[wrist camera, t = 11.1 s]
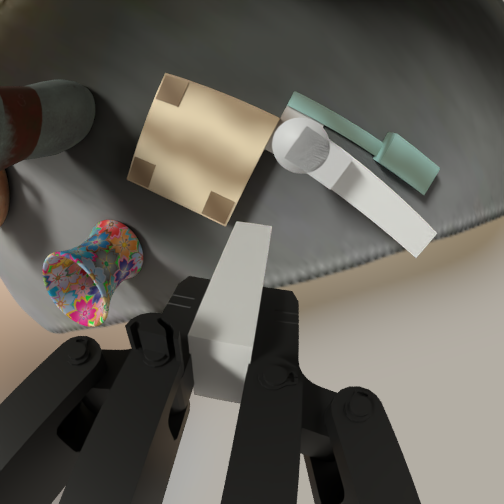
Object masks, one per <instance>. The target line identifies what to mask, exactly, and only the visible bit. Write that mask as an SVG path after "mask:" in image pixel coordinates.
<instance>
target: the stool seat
mask: <svg viewBox="0 0 504 504" xmlns="http://www.w3.org/2000/svg"><path fill="white" fill-rule="evenodd" d="M293 118H308V119H311V120H313V121H315V122H317V123H318V124H319V125H321V126H322V127H323V126H324V125H325V126H327V127H329V128H331V129H332V130H334V131H336V132H338V133H339V134H341V135H343V136H344V137H346V138H348V139H349V140H351V141H352V142H354V143H356V144H357V145H359V146H360V147H362V148H364V149H365V150H367V151H368V152H370V153H371V154H373V155H374V158H373V160H375V161H376V162H378V163H379V164H381V165H382V166H384V167H385V168H387V169H388V170H390V171H391V172H392V173H394V174H395V175H397V176H398V177H399V178H401V179H402V180H403V181H405V182H406V183H407V184H409V185H410V186H411V187H413V188H414V189H415V190H417V191H418V192H420V193H421V194H423V195H425V193H426V192H427V190H428V188H429V187H430V185H431V183H432V182H433V180H434V178H435V176H436V175H437V173H438V171H439V169H440V168H439V167H438V166H437V165H435V164H434V163H433V162H432V161H431V160H430V159H428V158H427V157H426V156H425V155H424V154H422V153H421V152H420V151H419V150H417V149H416V148H415V147H414V146H412V145H411V144H410V143H409V142H407V141H406V140H405V139H403V138H402V137H401V136H399V135H398V134H396V133H391V132H388V133H387V135H386V137H385V138H384V140H383V142H381V141H379V140H378V139H376V138H375V137H373V136H372V135H370V134H369V133H367V132H366V131H364V130H363V129H361V128H360V127H358V126H356V125H355V124H353V123H352V122H350V121H348V120H347V119H345V118H343V117H342V116H340V115H338V114H337V113H335V112H333V111H331V110H330V109H328V108H326V107H324V106H322V105H321V104H319V103H317V102H315V101H313V100H311V99H309V98H307V97H305V96H303V95H301V94H299V93H297V92H294V93H293V95H292V97H291V99H290V101H289V103H288V105H287V107H286V109H285V110H284V112H283V114H282V116H281V118H278V117H276V116H274V115H272V114H270V113H268V112H266V111H264V110H262V109H259V108H257V107H255V106H253V105H250V104H248V103H246V102H244V101H241V100H239V99H236V98H234V97H232V96H229V95H227V94H224V93H222V92H219V91H217V90H214V89H211V88H209V87H206V86H203V85H201V84H198V83H195V82H192V81H189V80H186V79H183V78H180V77H177V76H174V75H171V74H167V73H165V75H164V77H163V79H162V82H161V84H160V86H159V89H158V91H157V93H156V96H155V98H154V101H153V103H152V106H151V108H150V111H149V113H148V116H147V119H146V121H145V124H144V127H143V130H142V133H141V135H140V138H139V141H138V144H137V147H136V150H135V153H134V157H133V160H132V163H131V166H130V170H129V173H128V177H127V180H129V181H131V182H133V183H135V184H137V185H140V186H142V187H144V188H146V189H148V190H150V191H152V192H154V193H157V194H159V195H161V196H163V197H165V198H167V199H169V200H171V201H173V202H175V203H178V204H180V205H182V206H184V207H186V208H188V209H190V210H192V211H194V212H196V213H199V214H201V215H203V216H205V217H207V218H209V219H211V220H213V221H215V222H217V223H219V224H221V225H223V226H226V225H227V223H228V221H229V219H230V217H231V215H232V213H233V211H234V209H235V207H236V205H237V203H238V201H239V199H240V197H241V195H242V193H243V191H244V189H245V187H246V185H247V183H248V181H249V178H250V176H251V174H252V172H253V170H254V168H255V167H256V165H257V163H258V161H259V159H260V157H261V155H262V153H263V151H264V149H265V150H267V151H269V152H271V153H273V149H272V141H273V136H274V134H275V132H276V130H277V129H278V127H279V126H280V125H281V124H283V123H284V122H285V121H287V120H290V119H293ZM273 154H274V153H273Z"/></svg>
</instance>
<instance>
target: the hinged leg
mask: <svg viewBox="0 0 504 504" xmlns="http://www.w3.org/2000/svg"><path fill="white" fill-rule="evenodd" d="M272 149H273V153H274V156H275V158H276V159H277V161H278V162H279V164H280V165H281V166H283V167H284V168H285V169H287V170H289V171H291V172H294V173H302V174H303V173H307V174H309V175H310V176H312V177H313V178H315V179H316V180H317V181H319V182H320V183H322V184H323V185H324V186H326V187H327V188H329V189H332V190H333V191H334V192H336V193H337V194H338V195H340V196H341V197H342V198H344V199H345V200H346V201H348V202H349V203H350V204H352V205H353V206H354V207H355V208H357V209H358V210H359V211H361V212H362V213H363V214H364V215H366V216H367V217H368V218H369V219H371V220H372V221H373V222H374V223H376V224H377V225H378V226H379V227H380V228H382V229H383V230H384V231H385V232H386V233H388V234H389V235H390V236H391V237H392V238H394V239H395V240H396V241H397V242H398V243H399V244H400V245H402V246H403V247H404V248H405V249H406V250H407V251H408V252H410V253H411V254H412V255H413V256H414V257H415V258H417V256H418V255H419V254H420V253H421V252H422V251H423V250H424V248H425V247H426V246H427V245H428V244H429V242H430V241H431V240H432V239H433V238H434V236H435V235H436V234H437V233H436V232H435V231H434V230H433V229H432V228H431V226H430V225H429V224H428V223H427V222H426V221H425V220H424V219H423V218H422V217H421V216H420V215H419V214H418V213H417V212H415V211H414V210H413V209H412V208H411V207H410V206H409V205H408V204H407V203H406V202H405V201H404V200H403V199H402V198H401V197H400V196H398V195H397V194H396V193H395V192H394V191H393V190H392V189H391V188H390V187H388V186H387V185H386V184H385V183H384V182H383V181H382V180H380V179H379V178H378V177H377V176H376V175H374V174H373V173H372V172H371V171H370V170H368V169H367V168H366V167H365V166H364V165H362V164H361V163H360V162H359V161H357V160H356V159H355V158H354V157H352V156H351V155H350V154H348V153H347V152H346V151H344V150H343V149H342V148H341V147H339V146H338V145H337V144H335V143H334V142H332V141H331V140H330V139H329V137H328V135H327V133H326V131H325V130H324V129H323V127H322V126H321V125H319V124H318V123H317V122H315V121H313V120H311V119H308V118H293V119H290V120H287V121H285V122H284V123H283V124H281V125H280V126H279V127H278V129H277V130H276V132H275V134H274V136H273V141H272Z"/></svg>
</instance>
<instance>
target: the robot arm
mask: <svg viewBox="0 0 504 504" xmlns="http://www.w3.org/2000/svg"><path fill="white" fill-rule="evenodd" d="M271 230H272V226H267V225H260V224H253V223H246V222H239V221H236V224H235V226H234V228H233V230H232V233H231V235H230V237H229V239H228V242H227V244H226V246H225V248H224V251H223V253H222V255H221V258H220V260H219V262H218V265H217V267H216V269H215V272H214V274H213V276H212V279H211V280H209V279H203V278H197V277H192V276H189V277H187V278H186V279H185V280H183V281H182V282H181V283H179V284H178V286H177V288H176V290H175V291H174V293H173V296H172V297H171V298H170V300H169V303H168V304H167V306H166V308H165V309H164V311H163V313H162V314H161V313H146V314H141V315H139V316H137V317H135V318H133V319H131V320H130V321H129V322H128V323H127V324H126V325H125V327H126V330H127V334H128V337H129V341H130V344H131V347H132V349H128V350H101V348H100V345H99V344H98V343H97V342H96V341H95V340H94V339H92V338H90V337H87V336H77V337H73V338H70V339H69V340H67V341H66V342H64V343H63V344H62V345H61V346H60V347H58V348H57V349H56V350H55V351H54V352H53V353H52V354H51V355H50V356H49V357H48V358H47V359H46V360H45V361H43V363H42V364H40V365H39V366H38V367H37V368H36V369H35V370H34V371H33V372H32V373H31V374H30V375H29V376H28V377H27V378H26V379H25V380H24V381H23V382H22V383H21V384H20V385H19V386H18V387H17V388H16V389H15V390H14V391H13V392H12V393H11V394H10V395H9V396H8V397H7V398H6V399H5V400H4V401H3V402H2V403H1V404H0V504H51V503H52V502H53V500H54V499H55V498H56V497H57V496H58V494H59V493H60V492H61V491H62V489H63V488H64V487H65V486H66V487H65V489H64V492H63V494H62V497H61V500H60V502H59V504H162V502H163V498H164V495H165V491H166V488H167V485H168V481H169V478H170V474H171V471H172V468H173V464H174V461H175V457H176V454H177V450H178V447H179V444H180V440H181V437H182V434H183V431H184V427H185V424H186V421H187V417H188V414H189V411H190V402H189V399H190V395H191V392H192V389H194V394H195V395H199V396H204V397H209V398H214V399H219V400H224V401H229V402H235V403H241V404H240V409H239V414H238V420H237V425H236V430H235V435H234V440H233V446H232V451H231V456H230V461H229V466H228V471H227V475H226V480H225V485H224V490H223V495H222V500H221V504H297V492H298V480H299V464H300V453H302V454H303V455H304V459H305V463H306V468H307V472H308V476H309V481H310V485H311V489H312V494H313V498H314V502H315V504H421V503H420V500H419V497H418V494H417V491H416V488H415V486H414V483H413V480H412V477H411V474H410V472H409V469H408V467H407V464H406V461H405V459H404V456H403V453H402V451H401V448H400V446H399V443H398V441H397V438H396V436H395V433H394V431H393V429H392V426H391V424H390V421H389V419H388V417H387V414H386V412H385V410H384V407H383V405H382V403H381V401H380V400H379V398H378V397H377V396H376V395H375V394H374V393H373V392H371V391H370V390H368V389H365V388H362V387H347V388H345V389H342V390H340V391H339V392H338V393H336V392H333V391H331V390H328V389H325V388H322V387H320V386H317V385H315V384H313V383H312V382H311V381H309V380H308V379H307V378H306V377H305V376H304V374H302V371H301V369H300V367H299V361H298V349H299V348H298V347H299V346H298V345H299V341H298V339H299V325H298V323H299V319H298V318H299V316H298V314H299V312H298V310H299V308H298V307H299V305H298V300H297V298H296V297H295V295H294V293H293V292H292V291H287V290H280V289H273V288H267V287H263V284H264V278H265V271H266V264H267V257H268V251H269V244H270V237H271Z"/></svg>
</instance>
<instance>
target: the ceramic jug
mask: <svg viewBox="0 0 504 504" xmlns="http://www.w3.org/2000/svg"><path fill="white" fill-rule="evenodd" d="M8 209H9V185H8V180H7V175H6V171H5V169H4V170H2V171H0V226H1V225H2V224H3V222H4V221H5V219H6V217H7V214H8Z"/></svg>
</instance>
